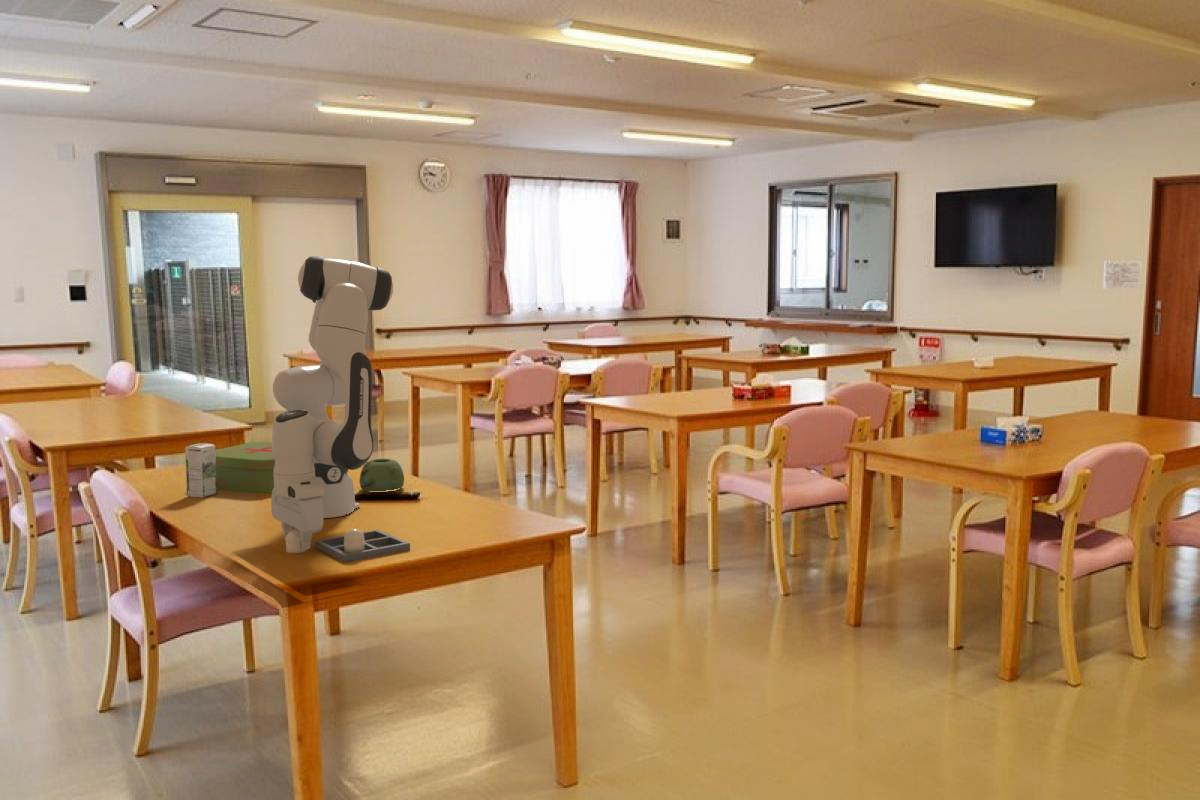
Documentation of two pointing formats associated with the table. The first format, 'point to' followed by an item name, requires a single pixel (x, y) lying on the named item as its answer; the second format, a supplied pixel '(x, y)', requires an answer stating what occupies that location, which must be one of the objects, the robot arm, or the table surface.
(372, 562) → the table surface
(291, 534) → the egg
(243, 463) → the first aid kit
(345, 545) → the resting egg
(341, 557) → the carton
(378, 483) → the green pot
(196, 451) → the syrup box
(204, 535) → the table surface
